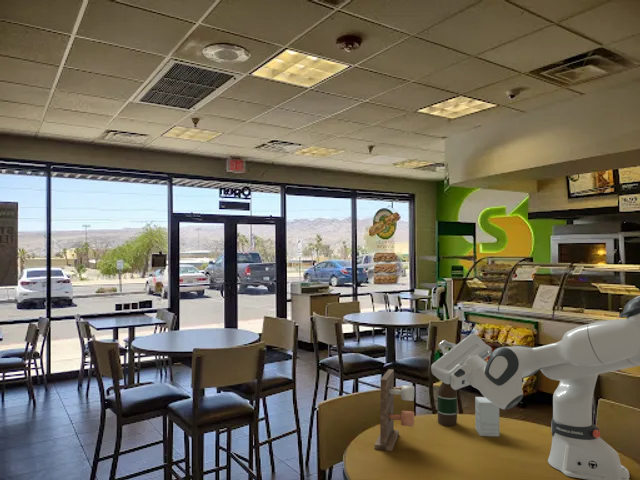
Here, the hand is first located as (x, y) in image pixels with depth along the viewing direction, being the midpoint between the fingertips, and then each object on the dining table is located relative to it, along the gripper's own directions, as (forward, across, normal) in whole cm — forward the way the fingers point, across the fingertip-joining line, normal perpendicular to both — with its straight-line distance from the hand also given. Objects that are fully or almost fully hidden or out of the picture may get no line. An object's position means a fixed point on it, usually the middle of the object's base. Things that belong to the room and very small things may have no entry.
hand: (441, 343), depth 163 cm
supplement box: (-17, -6, +45) cm, 48 cm away
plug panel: (-1, +28, +31) cm, 42 cm away
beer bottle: (-3, 0, +49) cm, 49 cm away
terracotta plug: (-1, +22, +27) cm, 35 cm away
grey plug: (+3, +18, +20) cm, 27 cm away
